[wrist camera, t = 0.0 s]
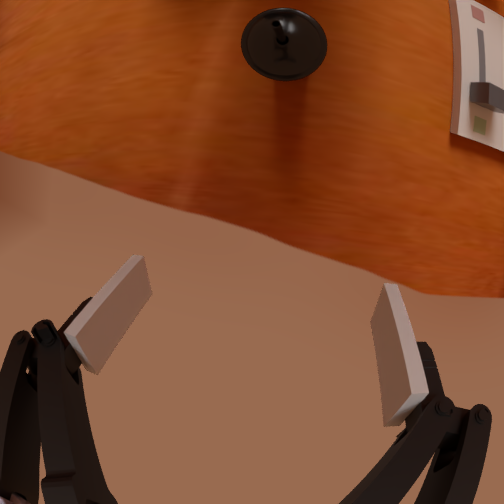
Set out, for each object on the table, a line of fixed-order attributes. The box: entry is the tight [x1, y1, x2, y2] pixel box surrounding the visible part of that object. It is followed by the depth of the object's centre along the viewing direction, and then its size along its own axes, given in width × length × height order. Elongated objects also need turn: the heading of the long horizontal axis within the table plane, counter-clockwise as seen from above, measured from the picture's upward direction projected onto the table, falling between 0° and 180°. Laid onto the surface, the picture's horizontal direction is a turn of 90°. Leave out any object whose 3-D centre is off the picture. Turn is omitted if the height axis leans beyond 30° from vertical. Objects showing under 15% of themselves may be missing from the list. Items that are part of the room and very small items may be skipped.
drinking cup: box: [241, 8, 327, 81], centre depth 22 cm, size 8×8×20 cm
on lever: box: [470, 82, 504, 114], centre depth 21 cm, size 3×5×5 cm, turn 89°
